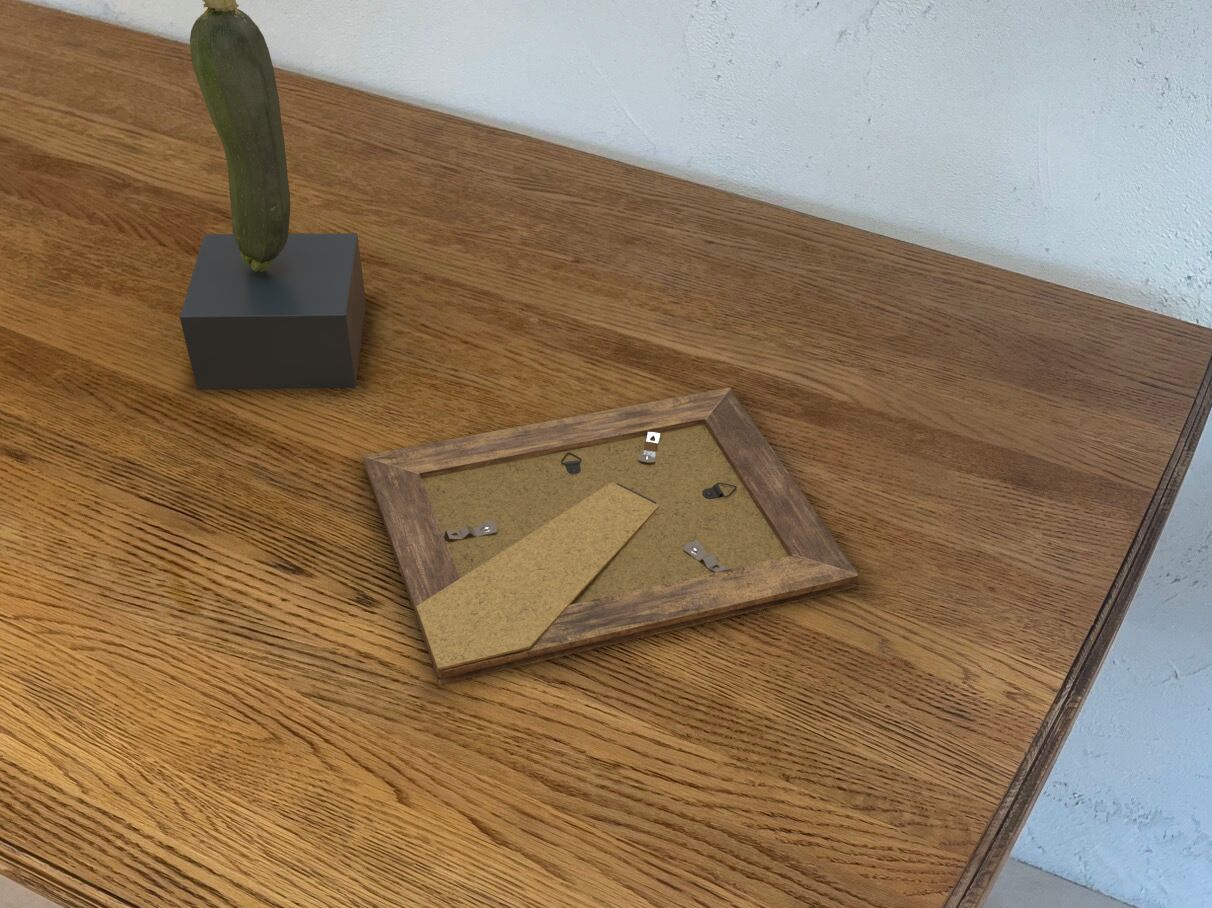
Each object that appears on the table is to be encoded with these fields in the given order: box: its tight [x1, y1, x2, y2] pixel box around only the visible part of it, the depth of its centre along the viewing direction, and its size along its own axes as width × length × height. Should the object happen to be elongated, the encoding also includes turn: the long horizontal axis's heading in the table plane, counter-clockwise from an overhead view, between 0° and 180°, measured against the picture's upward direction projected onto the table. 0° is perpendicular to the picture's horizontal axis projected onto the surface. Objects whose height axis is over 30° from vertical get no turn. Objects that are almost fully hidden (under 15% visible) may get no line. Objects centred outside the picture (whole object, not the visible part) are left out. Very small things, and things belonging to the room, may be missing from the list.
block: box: [179, 232, 367, 391], centre depth 88 cm, size 10×10×6 cm
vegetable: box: [189, 0, 291, 272], centre depth 79 cm, size 4×4×20 cm
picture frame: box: [362, 387, 859, 685], centre depth 78 cm, size 19×2×24 cm
